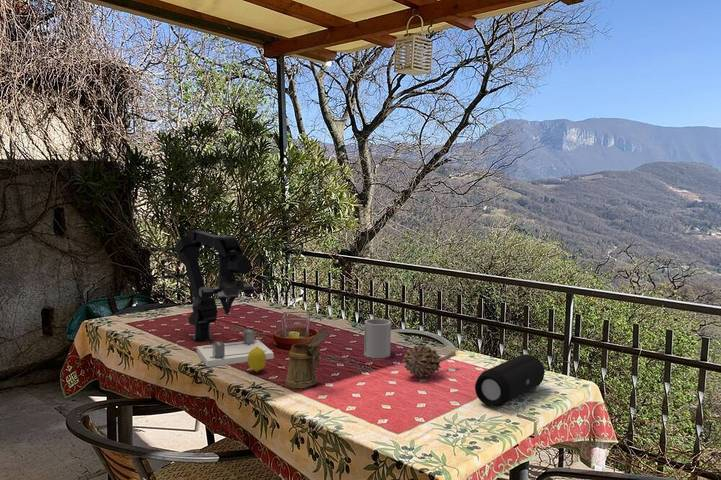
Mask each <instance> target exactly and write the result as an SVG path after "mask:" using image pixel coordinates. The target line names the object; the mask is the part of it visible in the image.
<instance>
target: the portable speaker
mask: <svg viewBox="0 0 721 480" xmlns="http://www.w3.org/2000/svg"><path fill="white" fill-rule="evenodd" d="M543 364H544V363H543V362H542V361H541V360H540V359H539V358H538V357H536V356H534V355H531V354H526V353H525V354H523V353H522V354H520V355H518V356H516V357H513V358H511V359H508V360H506V361H504V362H502V363H500V364H497V365H495V366H493V367H490V368H489V369H488V368H487V369H486V370H483V371H482V372H481V373H480V374H479V376H478V377H477V379H476V382H475V385H474V390H475V394H476V397H477V398H478V400H479V401H480V402H481V403H482V404H483V405H485V406H488V407H491V408H501V406H502V407H504V406H505V405H506V404H509V403H510V402H512V401H514V400H515V399H517V398H519V397H521V396H522V395H525V394H526V393H528V392H530V391H532V390H533V389H535V388H537V387H538V386H540V385H541V384H542V383H543V381H544V378H545V372H546V370H545V366H544V365H543Z"/></svg>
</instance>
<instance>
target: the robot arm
mask: <svg viewBox="0 0 721 480" xmlns="http://www.w3.org/2000/svg"><path fill="white" fill-rule="evenodd" d="M203 244H204V245H207V246H210V247H212V248H213V250H214V251H216V252H217V254H216V255H215V256H214V258H215V259H218V273H217V274H218V285H217V286H218V288H213V287H211V286H206V284H205V282H204V277H203V274H202V271H201V268H200V264H199V257H200V254H201V252H200V249H201V248H202V247H203ZM174 249H175V250H174V251H175V253H176V255H177V258H178V259H179V260H180V262H182V263H183V264H184V267H185V269H186V270H185V271H186V273H187V277H188V281H189V285H190V288H191V292H192V294H193V295H192V296H193V299H194V301H193V304H192V307H191V308H192V313H191V314H190V316H189V317H188V324H189V325H190V326H191V325H192V326H194V336H192V337H191V338H192V339H193V341H194V342H207V341H213V337H212V336H211V324H212V323H216V320H217V317H218V316H217V315H218V306H217V304H216V299H215V298H217V299H219V301H220V303H221V305H222V308H223V310H224V313H225V315H228V316H229V314H230V311H231V308H232V305H233V303H234V301H235V299H236V298H239V293H244V294H245V296H246V295H255V287H254V286H253V285H251V284H249V283H247V284H245V281H244V280H243V279H239V280H237V277H236V274H239V275H246V274H249V273H250V271H251V270H252V263H251V260H250V259H249V258H248V257H247V254H244V252H243V249H242V248H241V246H240V243H239V241H238V240H237V237H235V236H233V235H232V236H230V235H229V236H228V235H225V236H224V235H218V234H213V233H211V232H206V231H204V230H202V229H195V230H190V231H189V232H188V233H187V234H186V235H185V236H183V237H182V238H180V239H179V240H178V242H177V243H176V244H175V248H174ZM213 296H215V298H213Z"/></svg>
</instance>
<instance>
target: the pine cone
mask: <svg viewBox="0 0 721 480" xmlns="http://www.w3.org/2000/svg"><path fill="white" fill-rule="evenodd" d="M406 351H407V353H405V354H404V355H403V358H404V359H403V360H402V362H404V364H405V365H404V366H403V368H405V371H408V372H409V374H412V376H414V375H416V377H418V378H419V377H423V376H424V375H425V376H424V377H428V376H429V375H430V376H432V375H434V374H435V373H436V372H439V371H440V370H439V369H440V368H441V365H440V363H442V362H444V361H446V360H449V359H452V357H453V358H454V357H457V353H458V351H457V350H451V351H450V352H449V353H448V354H446V355H444V356H441V355H439V353H437V350H436V349H432V348H431V347H430V346H425V345H421V344H419V345H418V346H417V345H415V346H414V347H413V348H411V349H410V348H409V349H407V350H406Z"/></svg>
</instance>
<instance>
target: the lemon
mask: <svg viewBox="0 0 721 480" xmlns="http://www.w3.org/2000/svg"><path fill="white" fill-rule="evenodd" d="M266 362H267V360H266V356H265V353H264V351H263V350H262V349H260V348H258V347H256V348H254V349H252V350H251V351H250V353H249V355H248V362H247V364H248V367H249V368H250V369H251V370H252V371H255V373H258V372H260V371H261V370H262V369H264V367H265V365H266Z"/></svg>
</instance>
